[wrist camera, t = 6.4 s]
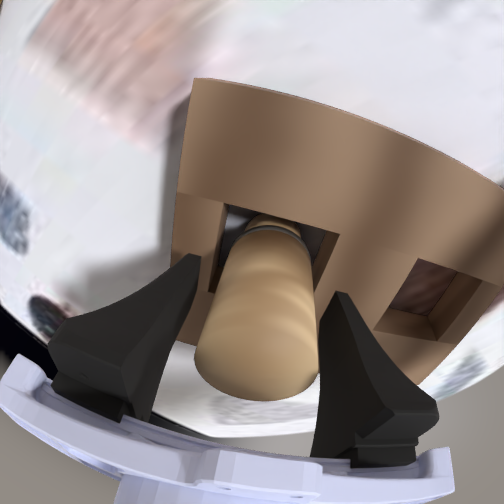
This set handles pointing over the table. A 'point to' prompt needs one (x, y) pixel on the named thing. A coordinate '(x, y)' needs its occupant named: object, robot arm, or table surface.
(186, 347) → the table surface
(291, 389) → the oak peg
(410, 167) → the walnut board
